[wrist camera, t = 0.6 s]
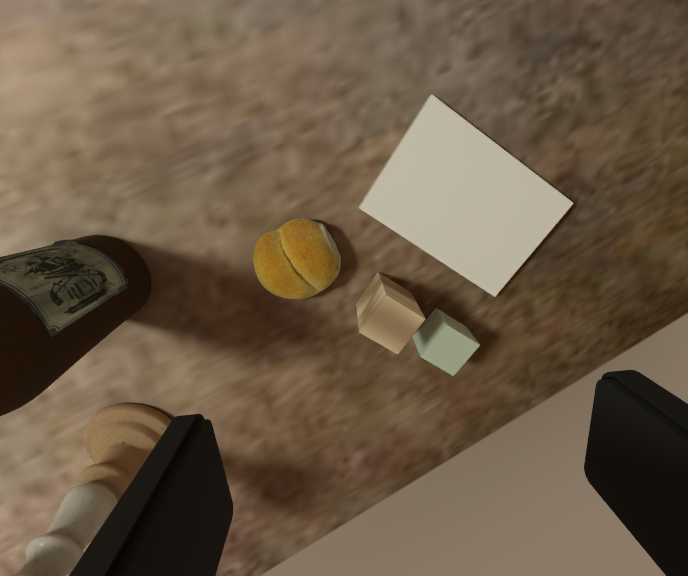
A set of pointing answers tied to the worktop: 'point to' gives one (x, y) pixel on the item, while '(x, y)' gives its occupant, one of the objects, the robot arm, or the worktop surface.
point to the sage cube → (445, 342)
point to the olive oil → (62, 309)
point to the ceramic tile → (463, 198)
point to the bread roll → (297, 259)
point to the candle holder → (96, 485)
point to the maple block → (388, 313)
